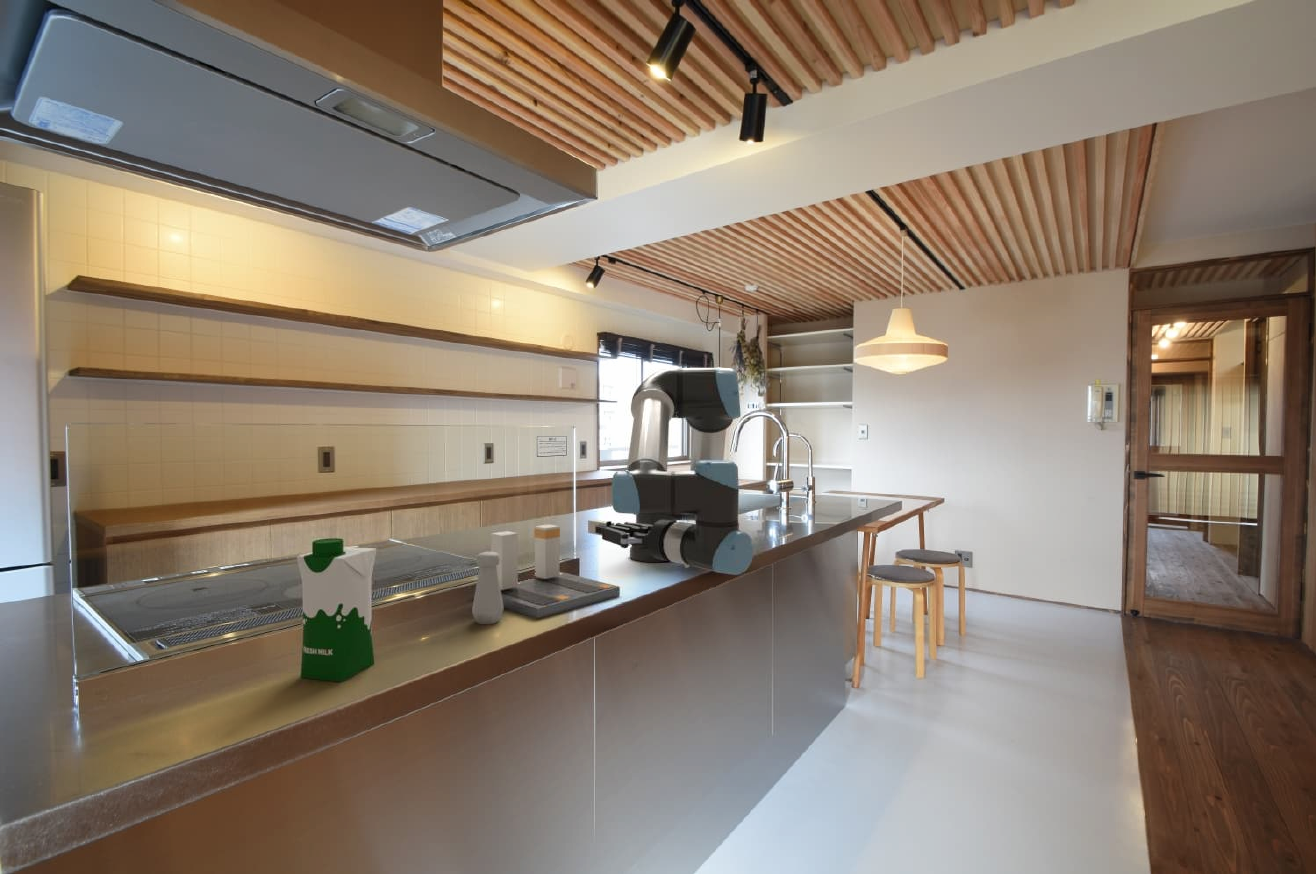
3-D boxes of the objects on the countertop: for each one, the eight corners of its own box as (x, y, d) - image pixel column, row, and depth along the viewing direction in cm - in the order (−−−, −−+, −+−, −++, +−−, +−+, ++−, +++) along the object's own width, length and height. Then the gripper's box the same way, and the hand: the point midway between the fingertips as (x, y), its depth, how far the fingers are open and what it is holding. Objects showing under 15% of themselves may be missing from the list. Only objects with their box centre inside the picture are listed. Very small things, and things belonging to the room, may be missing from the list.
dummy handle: (507, 583, 132) (507, 531, 132) (517, 586, 130) (517, 533, 130) (491, 586, 129) (491, 533, 129) (501, 590, 127) (501, 535, 127)
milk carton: (290, 680, 87) (289, 542, 87) (335, 657, 96) (335, 532, 96) (342, 685, 85) (342, 544, 85) (384, 661, 94) (383, 534, 94)
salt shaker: (484, 628, 110) (484, 557, 110) (465, 622, 113) (465, 553, 113) (510, 620, 115) (509, 552, 114) (491, 614, 118) (491, 548, 118)
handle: (548, 572, 142) (548, 524, 142) (559, 575, 139) (559, 526, 139) (534, 576, 139) (534, 526, 139) (545, 579, 136) (545, 528, 136)
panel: (556, 578, 146) (556, 570, 146) (619, 595, 132) (619, 586, 132) (475, 597, 130) (475, 587, 130) (537, 619, 115) (537, 608, 115)
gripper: (651, 568, 107) (566, 548, 123) (696, 555, 117) (612, 538, 133) (651, 526, 107) (566, 512, 123) (696, 517, 117) (612, 505, 133)
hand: (590, 526), depth 128 cm, fingers closed
